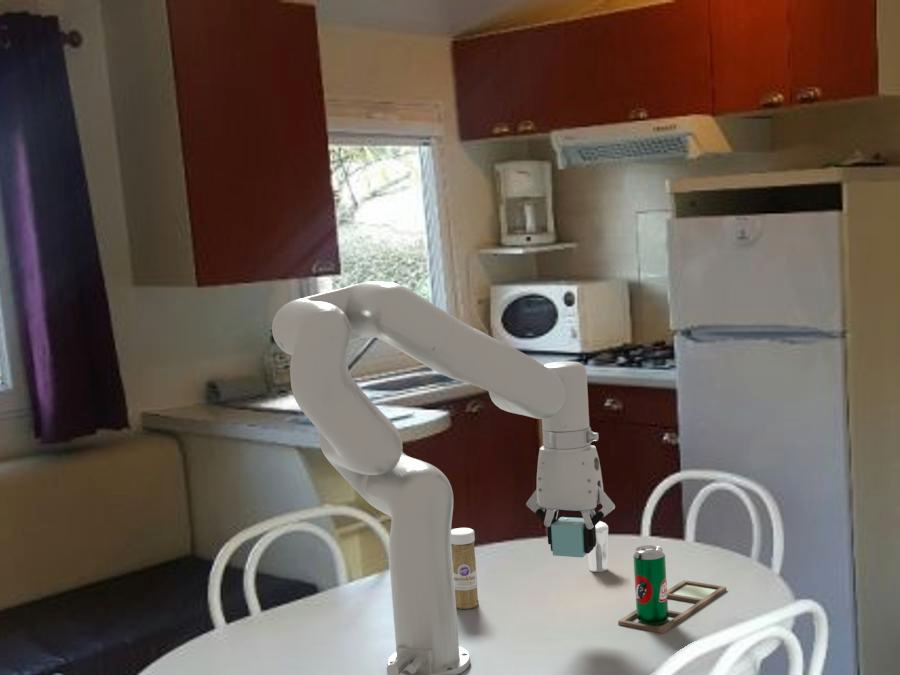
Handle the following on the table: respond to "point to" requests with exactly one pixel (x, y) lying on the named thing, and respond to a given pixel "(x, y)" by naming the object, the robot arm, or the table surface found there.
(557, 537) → the die
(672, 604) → the table surface
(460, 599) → the sprinkles bottle
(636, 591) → the soda can
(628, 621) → the wooden frame
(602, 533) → the milkshake
